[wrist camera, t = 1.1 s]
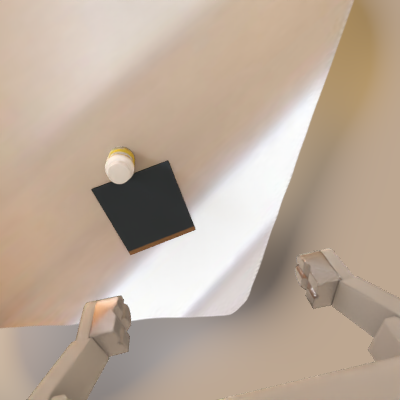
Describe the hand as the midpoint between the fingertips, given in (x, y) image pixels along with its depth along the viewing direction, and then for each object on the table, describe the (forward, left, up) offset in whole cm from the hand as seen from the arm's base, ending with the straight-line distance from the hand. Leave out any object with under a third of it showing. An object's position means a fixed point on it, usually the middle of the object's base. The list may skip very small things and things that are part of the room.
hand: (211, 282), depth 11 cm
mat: (+19, -10, -46) cm, 50 cm away
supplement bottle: (+5, -10, -46) cm, 47 cm away
